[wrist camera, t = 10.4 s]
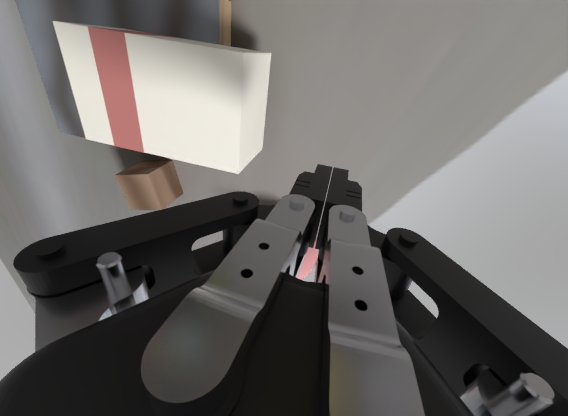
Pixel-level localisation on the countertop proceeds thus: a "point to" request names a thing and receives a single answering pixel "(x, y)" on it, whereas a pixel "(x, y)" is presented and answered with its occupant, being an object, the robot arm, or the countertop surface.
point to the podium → (118, 14)
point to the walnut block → (150, 185)
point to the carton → (167, 94)
